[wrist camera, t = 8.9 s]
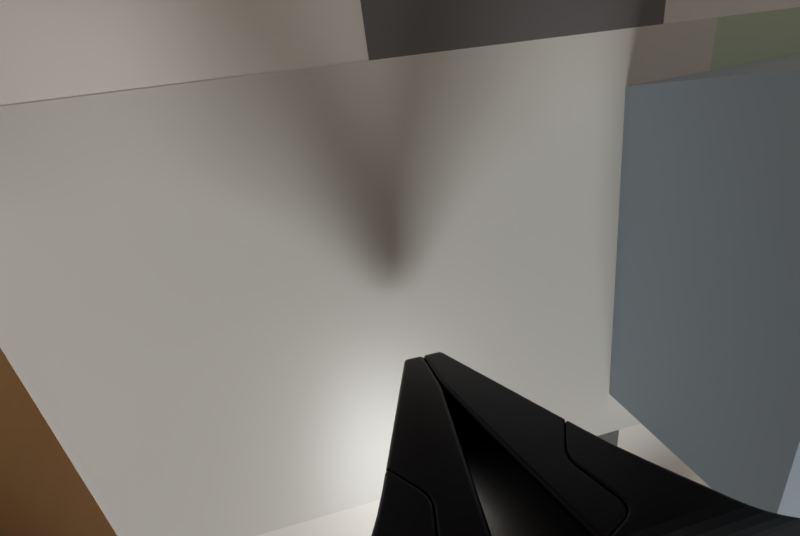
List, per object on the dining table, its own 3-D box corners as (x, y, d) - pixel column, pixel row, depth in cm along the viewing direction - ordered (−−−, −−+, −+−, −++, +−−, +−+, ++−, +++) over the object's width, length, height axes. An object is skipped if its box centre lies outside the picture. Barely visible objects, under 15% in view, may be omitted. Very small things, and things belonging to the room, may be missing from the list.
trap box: (217, 661, 15) (197, 783, 12) (-442, -474, 5) (-1417, -1238, 2) (779, 473, 19) (860, 534, 16) (1067, -384, 9) (1419, -616, 6)
